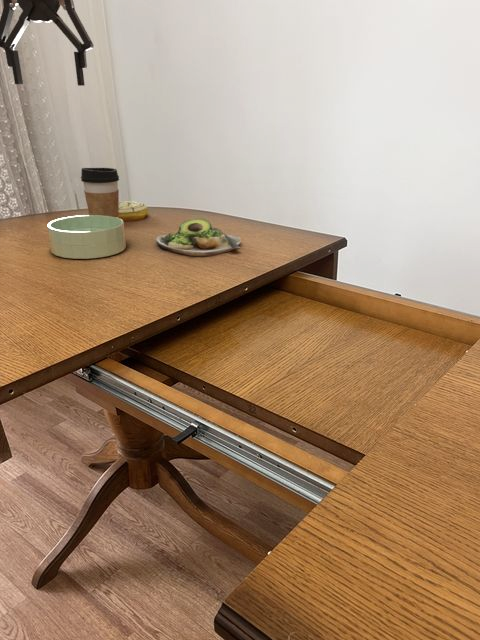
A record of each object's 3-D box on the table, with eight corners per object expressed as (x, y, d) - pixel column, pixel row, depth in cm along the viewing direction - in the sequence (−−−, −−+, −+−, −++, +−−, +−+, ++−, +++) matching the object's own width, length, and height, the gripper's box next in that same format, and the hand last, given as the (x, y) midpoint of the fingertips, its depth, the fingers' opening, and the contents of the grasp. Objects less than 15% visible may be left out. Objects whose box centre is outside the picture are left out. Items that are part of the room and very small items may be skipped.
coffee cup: (81, 232, 130) (72, 167, 123) (112, 227, 135) (106, 164, 129) (99, 239, 125) (91, 171, 118) (131, 234, 130) (125, 168, 123)
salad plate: (264, 248, 121) (265, 228, 119) (204, 265, 109) (203, 243, 107) (206, 232, 132) (205, 213, 130) (146, 246, 121) (144, 225, 119)
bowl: (41, 261, 109) (36, 231, 107) (64, 241, 123) (60, 214, 120) (117, 262, 110) (114, 232, 107) (131, 242, 124) (129, 215, 121)
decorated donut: (118, 212, 150) (116, 199, 148) (154, 215, 148) (153, 201, 146) (99, 221, 141) (98, 206, 139) (138, 224, 139) (136, 209, 137)
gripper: (-37, -37, 107) (-15, 83, 116) (91, -33, 108) (103, 86, 117) (-20, -30, 114) (-1, 83, 123) (100, -27, 114) (110, 85, 124)
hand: (50, 85), depth 120 cm, fingers open, 13 cm apart
